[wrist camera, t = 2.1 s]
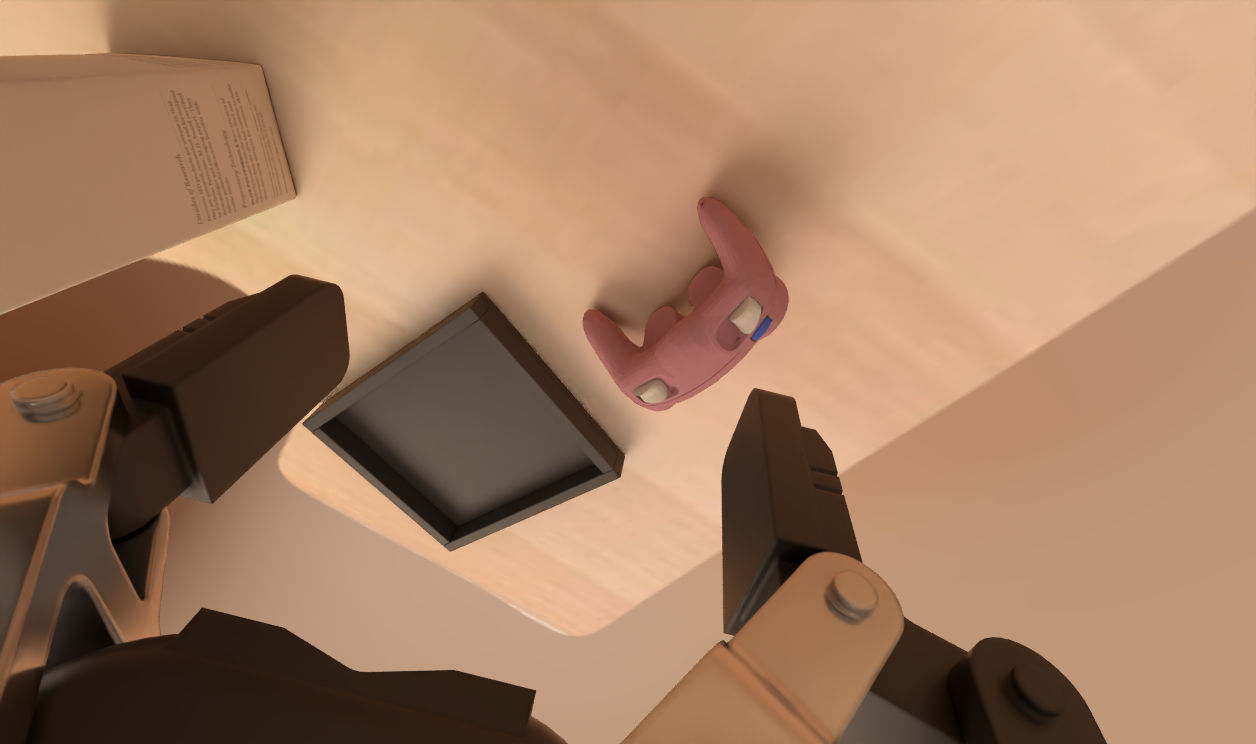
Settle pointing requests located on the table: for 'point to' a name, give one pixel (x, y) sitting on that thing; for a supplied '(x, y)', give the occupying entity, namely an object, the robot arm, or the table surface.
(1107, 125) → the table surface
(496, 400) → the tray
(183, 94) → the cosmetic box
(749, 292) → the video game controller
